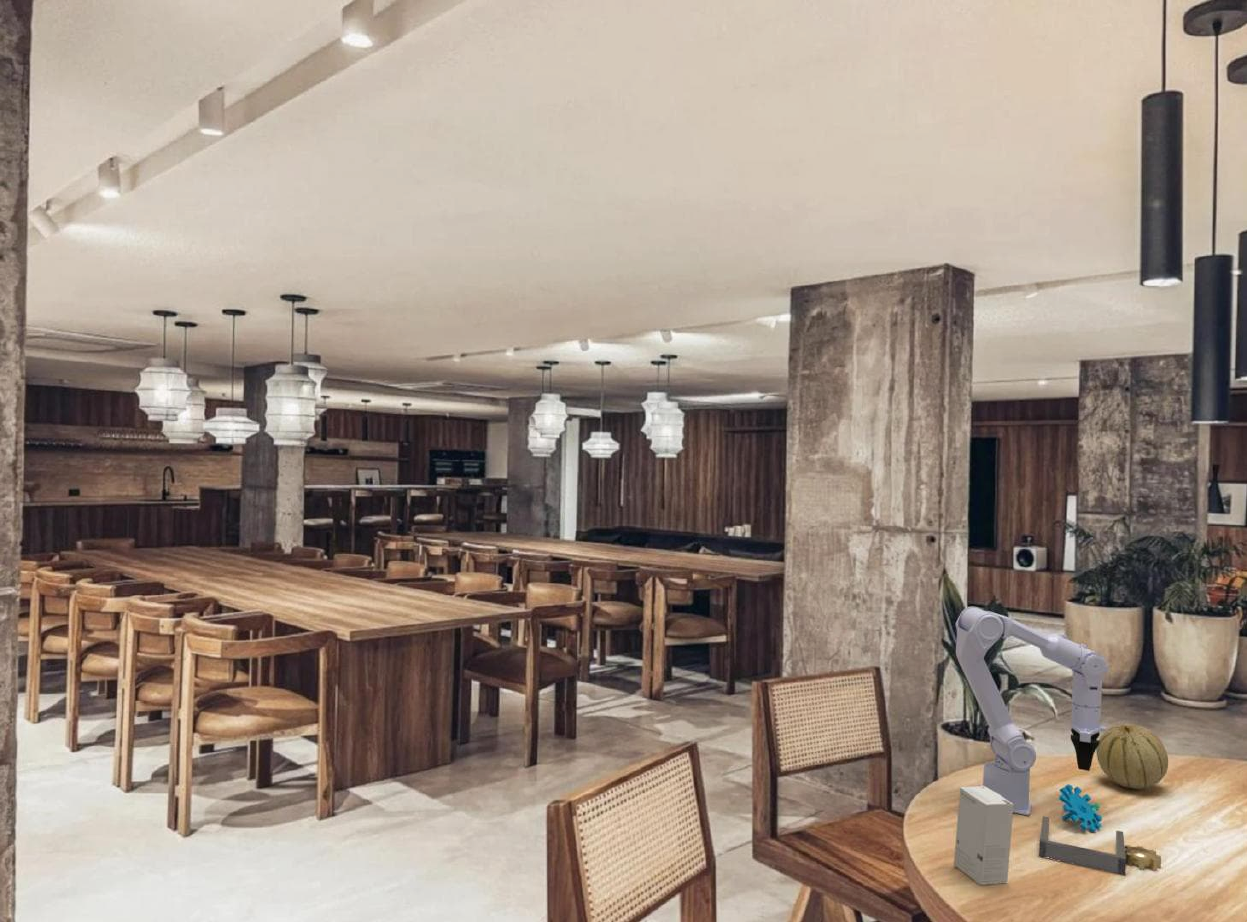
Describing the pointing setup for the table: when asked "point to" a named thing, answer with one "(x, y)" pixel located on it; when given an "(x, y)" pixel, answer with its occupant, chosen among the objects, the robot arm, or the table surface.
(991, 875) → the skincare box
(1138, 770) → the cantaloupe
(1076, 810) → the gear
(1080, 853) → the bracket
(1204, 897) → the table surface
